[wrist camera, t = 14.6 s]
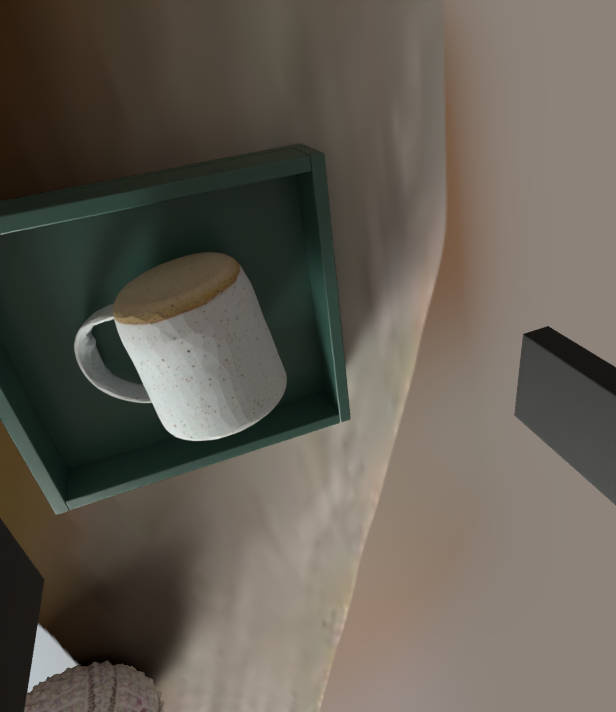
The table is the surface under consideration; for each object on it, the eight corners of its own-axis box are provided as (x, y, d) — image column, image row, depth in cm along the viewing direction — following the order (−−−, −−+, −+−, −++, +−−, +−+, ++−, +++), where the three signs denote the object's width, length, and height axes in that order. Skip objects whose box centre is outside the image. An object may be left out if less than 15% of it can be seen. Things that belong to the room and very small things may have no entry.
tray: (301, 143, 28) (324, 152, 25) (331, 390, 38) (351, 419, 34) (-78, 215, 24) (-107, 236, 21) (61, 473, 33) (56, 515, 30)
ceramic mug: (226, 230, 28) (255, 276, 22) (270, 344, 33) (305, 410, 27) (45, 299, 27) (21, 369, 21) (117, 408, 32) (115, 493, 25)
